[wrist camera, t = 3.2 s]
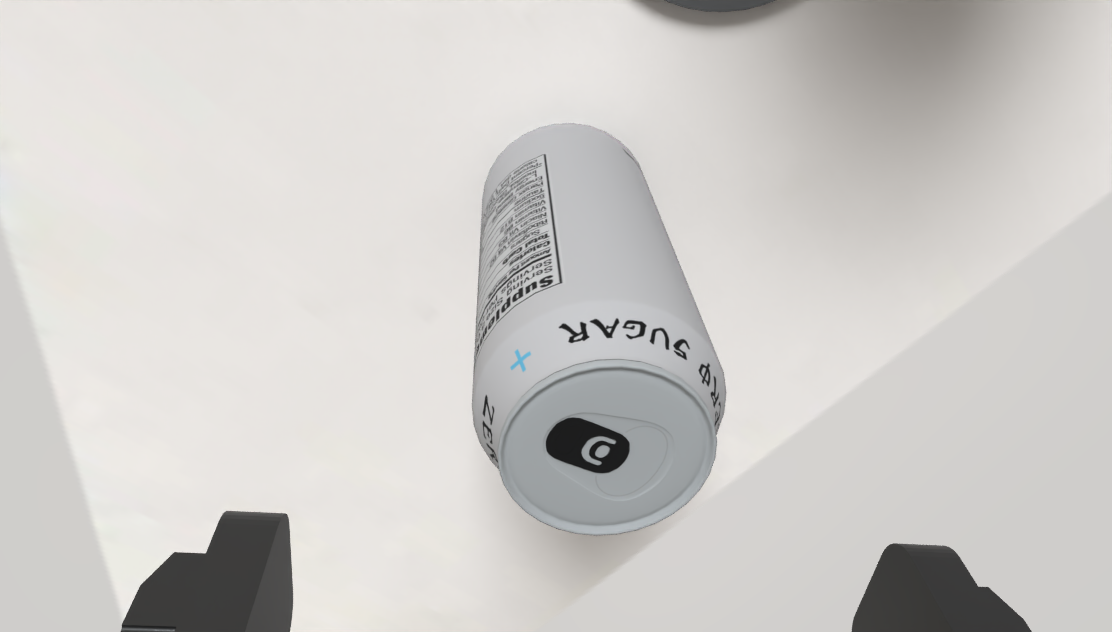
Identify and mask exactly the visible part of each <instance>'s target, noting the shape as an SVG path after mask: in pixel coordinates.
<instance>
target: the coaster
mask: <svg viewBox="0 0 1112 632" xmlns="http://www.w3.org/2000/svg"><path fill="white" fill-rule="evenodd" d="M665 1H667V2H669V3H673V4H676V5H679V6H682V7H685V8H689V9H695V10H701V11H714V12H728V11H737V10H745V9H750V8H753V7H757V6H761V5H765V4H768V3H770V2H773V1H775V0H665Z"/></svg>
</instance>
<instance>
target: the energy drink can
mask: <svg viewBox="0 0 1112 632" xmlns="http://www.w3.org/2000/svg"><path fill="white" fill-rule="evenodd" d="M725 400H726V386H725V379H724V372H723V370H722V367H721V365H720V362H719V360H718V357H717V355H716V352H715V350H714V347H713V345H712V342H711V340H710V337H709V335H708V333H707V330H706V328H705V325H704V323H703V320H702V318H701V315H700V313H699V310H698V308H697V305H696V303H695V301H694V298H693V296H692V293H691V291H690V288H689V286H688V283H687V281H686V278H685V276H684V273H683V271H682V269H681V266H680V264H679V261H678V259H677V256H676V254H675V251H674V249H673V246H672V244H671V241H670V239H669V237H668V234H667V232H666V229H665V227H664V224H663V222H662V219H661V217H660V214H659V212H658V209H657V207H656V205H655V202H654V200H653V197H652V195H651V192H650V190H649V187H648V185H647V182H646V180H645V177H644V175H643V173H642V170H641V168H640V165H639V163H638V162H637V160H636V159H635V157H634V156H633V154H632V153H631V151H630V150H629V149H627V148H626V147H625V146H624V145H623V144H622V143H621V142H620V141H619V140H618V139H616V138H614V137H613V136H611V135H610V134H608V133H606V132H605V131H602V130H599V129H597V128H594V127H591V126H587V125H581V124H575V123H563V124H553V125H548V126H544V127H539V128H537V129H535V130H533V131H530V132H528V133H526V134H524V135H522V136H521V137H519V138H518V139H516V140H515V141H514V142H512V143H511V144H510V145H509V146H508V147H507V148H506V149H505V150H504V151H503V152H502V153H501V154H500V155H499V156H498V158H497V159H496V161H495V163H494V164H493V166H492V167H491V169H490V171H489V174H488V177H487V179H486V182H485V185H484V192H483V199H482V217H481V237H480V257H479V276H478V296H477V316H476V335H475V355H474V375H473V394H472V411H473V422H474V427H475V430H476V433H477V436H478V439H479V442H480V444H481V446H482V447H483V449H484V450H485V452H486V454H487V455H488V457H489V458H490V460H491V461H492V463H493V464H494V465H495V466H496V467H497V468H498V469H499V471H500V474H501V477H502V480H503V483H504V486H505V487H506V489H507V490H508V492H509V494H510V495H511V497H512V498H513V500H514V501H515V502H516V503H517V504H518V505H519V506H520V507H521V508H522V509H523V510H524V511H525V512H527V513H528V514H530V515H531V516H533V517H534V518H536V519H537V520H539V521H540V522H543V523H545V524H547V525H550V526H552V527H554V528H556V529H560V530H564V531H568V532H572V533H576V534H586V535H614V534H621V533H626V532H631V531H636V530H639V529H642V528H644V527H647V526H650V525H653V524H655V523H657V522H659V521H661V520H663V519H665V518H667V517H669V516H671V515H672V514H674V513H675V512H676V511H678V510H679V509H680V508H682V507H683V506H684V505H686V504H687V503H688V502H689V501H690V500H691V499H692V498H693V497H694V496H695V494H696V493H697V492H698V491H699V490H700V489H701V487H702V486H703V484H704V482H705V481H706V479H707V478H708V476H709V474H710V471H711V468H712V466H713V463H714V460H715V455H716V446H717V438H716V435H717V432H718V429H719V426H720V423H721V420H722V418H723V415H724V409H725Z"/></svg>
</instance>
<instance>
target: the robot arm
mask: <svg viewBox="0 0 1112 632" xmlns="http://www.w3.org/2000/svg"><path fill="white" fill-rule="evenodd" d="M292 610H293V584H292V566H291V547H290V529H289V519H288V516H287V514H283V513H262V512H240V511H226V512H224V514H223V515H222V516H221V518H220V520H219V523H218V525H217V527H216V530H215V532H214V535H213V537H212V540H211V542H210V545H209V547H208V550H207V552H206V554H203V553H178V552H174V553H173V554H172V555H171V556H170V557H169V558H168V559H167V560H166V561H165V562H164V563H163V564H162V565H161V566H160V567H159V568H158V569H157V570H156V571H155V572H154V573H153V574H152V575H151V576H150V577H149V578H148V579H147V580H145V581H144V582H143V583H142V584H141V585H140V587H139V590H138V592H137V594H136V596H135V598H134V600H133V602H132V604H131V607H130V609H129V611H128V613H127V615H126V617H125V619H124V621H123V623H122V630H121V632H290V627H291V620H292ZM852 632H1031V630H1030V628H1029V627H1028V626H1027V624H1026V622H1025V621H1024V619H1023V618H1022V617H1020V616H1019V615H1018V614H1017V613H1016V612H1015V611H1014V610H1013V609H1012V608H1011V607H1009V606H1008V605H1007V604H1006V603H1005V602H1004V601H1003V600H1002V599H1001V598H1000V597H999V596H997V595H996V594H995V593H994V592H993V591H992V590H991V589H990V588H989V587H978V586H977V584H976V583H975V581H974V579H973V578H972V576H971V575H970V573H969V572H968V570H967V568H966V567H965V565H964V564H963V562H962V561H961V559H960V557H959V556H958V555H957V553H956V552H955V551H954V550H953V549H951V548H949V547H947V546H937V545H915V544H890V545H889V546H887V547H886V549H885V550H884V552H883V553H882V556H881V558H880V560H879V562H878V564H877V567H876V569H875V571H874V574H873V576H872V578H871V580H870V582H869V585H868V587H867V589H866V592H865V594H864V596H863V598H862V600H861V603H860V605H859V607H858V610H857V612H856V614H855V617H854V620H853V625H852Z"/></svg>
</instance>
